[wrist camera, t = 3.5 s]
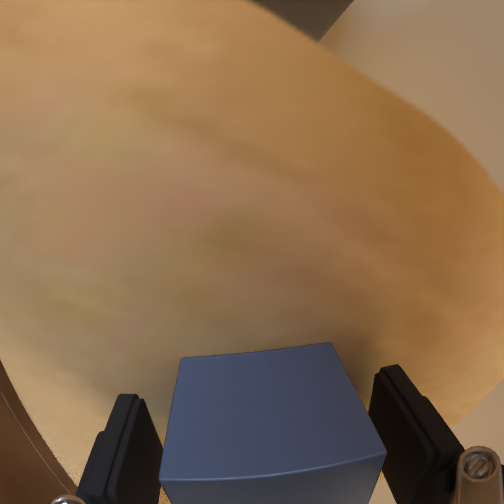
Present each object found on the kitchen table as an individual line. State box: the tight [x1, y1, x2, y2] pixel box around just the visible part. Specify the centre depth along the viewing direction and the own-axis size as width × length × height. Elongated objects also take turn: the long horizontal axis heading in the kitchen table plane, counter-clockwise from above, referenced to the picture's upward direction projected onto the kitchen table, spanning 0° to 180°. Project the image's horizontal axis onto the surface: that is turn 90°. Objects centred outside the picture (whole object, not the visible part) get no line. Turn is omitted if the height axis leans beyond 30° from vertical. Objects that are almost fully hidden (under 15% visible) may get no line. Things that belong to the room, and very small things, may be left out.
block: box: [158, 342, 387, 504], centre depth 8 cm, size 4×4×4 cm
